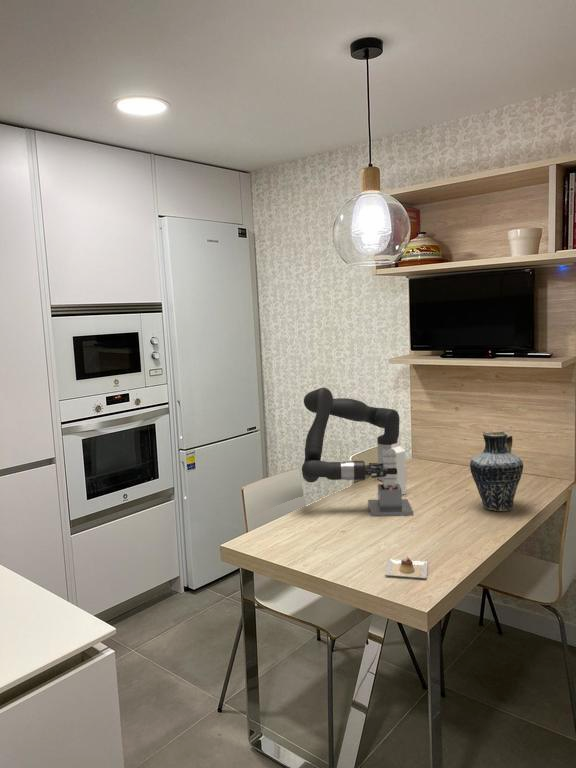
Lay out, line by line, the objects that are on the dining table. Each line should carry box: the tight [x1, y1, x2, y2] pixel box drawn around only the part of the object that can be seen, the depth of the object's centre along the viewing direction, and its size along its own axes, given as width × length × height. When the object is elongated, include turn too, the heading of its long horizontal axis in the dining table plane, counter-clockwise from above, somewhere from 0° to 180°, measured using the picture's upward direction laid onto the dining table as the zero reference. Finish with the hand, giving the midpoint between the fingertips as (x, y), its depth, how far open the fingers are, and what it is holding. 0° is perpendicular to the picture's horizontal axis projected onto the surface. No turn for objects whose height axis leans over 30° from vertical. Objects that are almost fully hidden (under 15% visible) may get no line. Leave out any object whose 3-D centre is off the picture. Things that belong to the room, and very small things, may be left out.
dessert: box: [384, 556, 429, 579], centre depth 185 cm, size 12×12×5 cm
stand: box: [367, 483, 414, 517], centre depth 241 cm, size 16×16×10 cm
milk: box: [391, 442, 407, 496], centre depth 260 cm, size 6×6×22 cm
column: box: [382, 449, 396, 489], centre depth 240 cm, size 5×5×22 cm
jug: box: [469, 430, 524, 512], centre depth 237 cm, size 21×19×30 cm
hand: (396, 469), depth 240 cm, fingers closed on column, 4 cm apart
